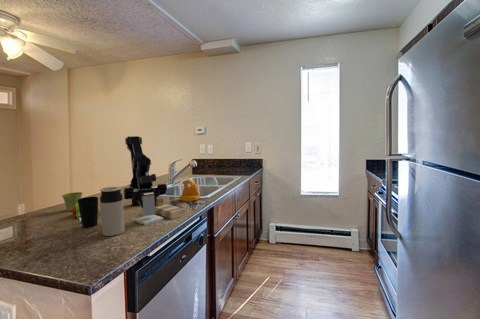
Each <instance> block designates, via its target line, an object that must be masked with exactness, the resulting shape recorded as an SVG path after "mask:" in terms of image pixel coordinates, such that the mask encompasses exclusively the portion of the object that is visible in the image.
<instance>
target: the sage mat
mask: <svg viewBox="0 0 480 319" xmlns="http://www.w3.org/2000/svg"><path fill="white" fill-rule="evenodd" d="M163 220H164V216H163V217H162V216H161V215H158V214H155V215H149V216H140V217H137V218H134V222H137V223H139V224H142V225H143V226H146V225H147V226H148V225H149V224H154V223H157V222H160V221H163Z"/></svg>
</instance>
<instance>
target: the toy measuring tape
mask: <svg viewBox="0 0 480 319" xmlns="http://www.w3.org/2000/svg"><path fill="white" fill-rule="evenodd" d="M71 212H72V215H73V216H75V218H76V217H77V218H79V219H78V221H79V220H80V221H79V223H80V224H82V221H81V216H80V211H79V206H78V203H77V204H75V206H74V207H72V211H71ZM77 218H76V219H77Z"/></svg>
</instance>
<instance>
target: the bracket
mask: <svg viewBox="0 0 480 319" xmlns="http://www.w3.org/2000/svg"><path fill="white" fill-rule="evenodd" d="M200 198H201V194H200V192H199V189H198V186H197V185H196V181H195V180H194V179H192V178H190V179H188V180H185V181H184V183H183V190H182V192H181V194H180V195H179V197H178V201H183V202H193V201H198V200H199V199H200Z"/></svg>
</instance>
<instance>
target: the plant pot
mask: <svg viewBox="0 0 480 319" xmlns="http://www.w3.org/2000/svg"><path fill="white" fill-rule="evenodd" d="M82 195H83V192H81V191H77V192H76V191H75V192H68V193H63V194H61V197H62V199H63V201H64V204H65V207H66V211H67V212H72V207H74V206H75V204H77V203H78V199H81V198H83V196H82Z"/></svg>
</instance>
